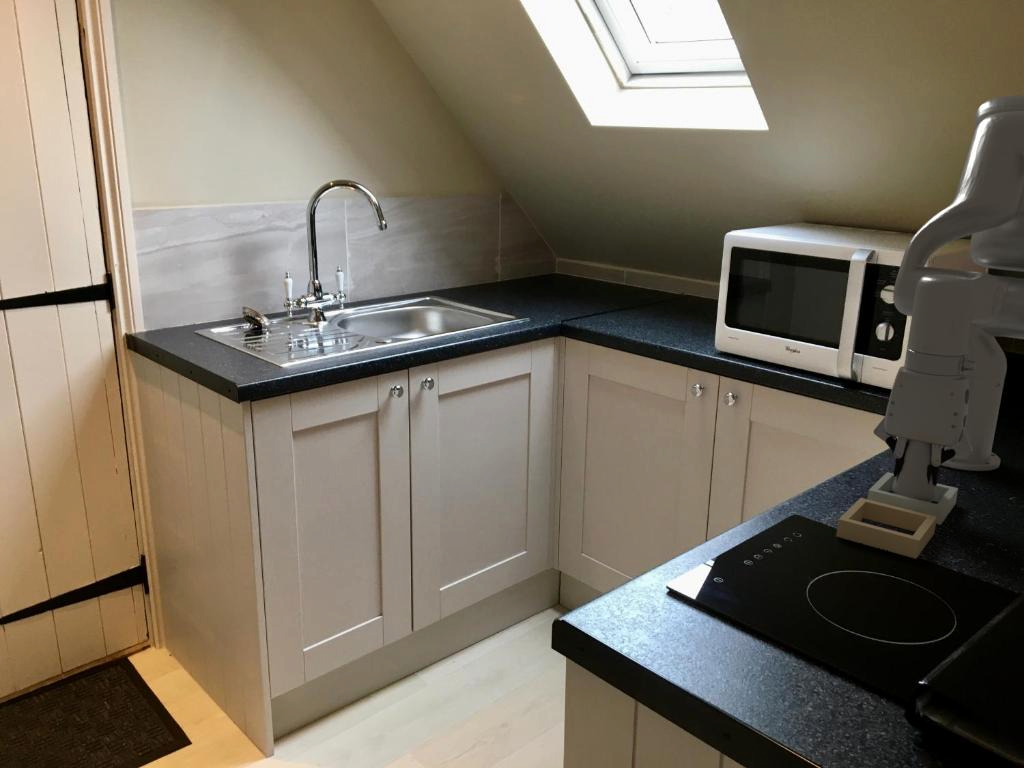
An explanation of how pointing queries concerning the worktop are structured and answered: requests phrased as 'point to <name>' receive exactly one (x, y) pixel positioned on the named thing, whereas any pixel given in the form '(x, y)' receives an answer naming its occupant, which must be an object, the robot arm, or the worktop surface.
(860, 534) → the sockets
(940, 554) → the worktop surface
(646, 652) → the worktop surface
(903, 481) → the salt shaker
